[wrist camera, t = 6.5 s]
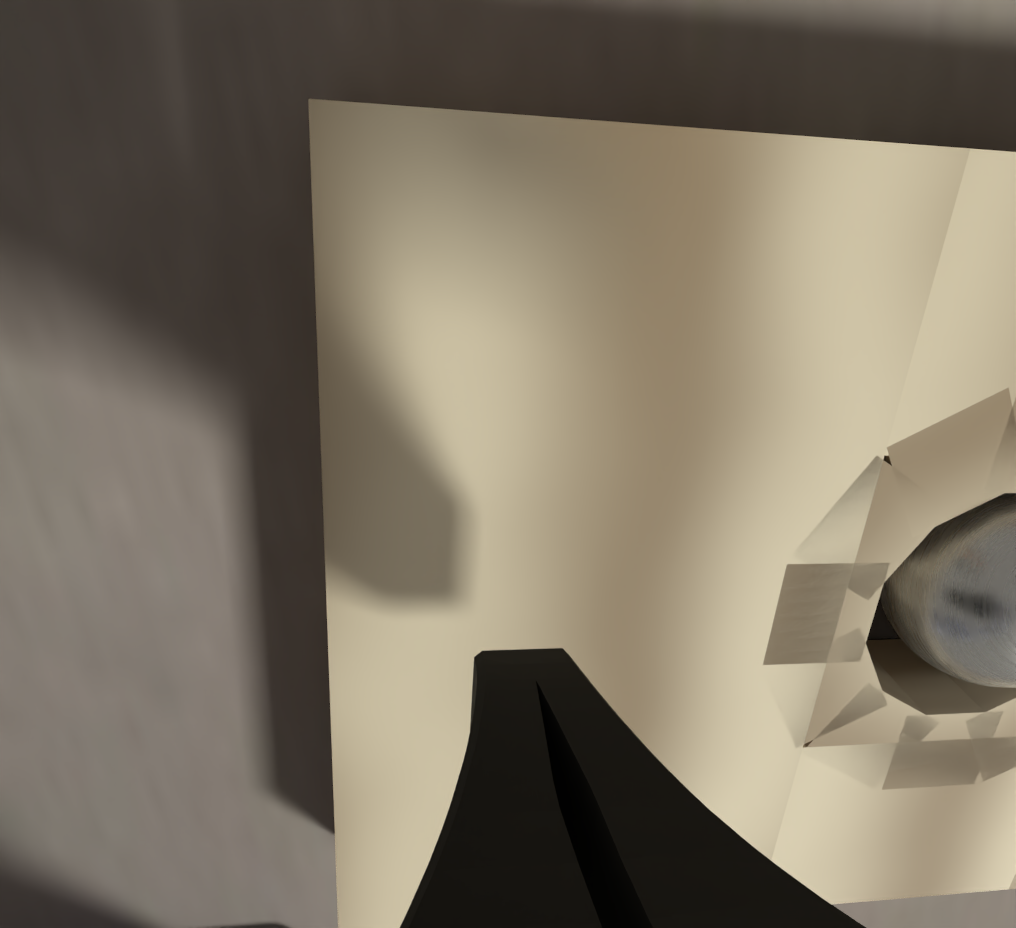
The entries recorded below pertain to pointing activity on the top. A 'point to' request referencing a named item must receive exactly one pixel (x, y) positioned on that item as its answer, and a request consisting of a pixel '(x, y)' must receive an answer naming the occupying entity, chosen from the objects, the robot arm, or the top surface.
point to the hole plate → (662, 471)
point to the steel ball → (961, 595)
